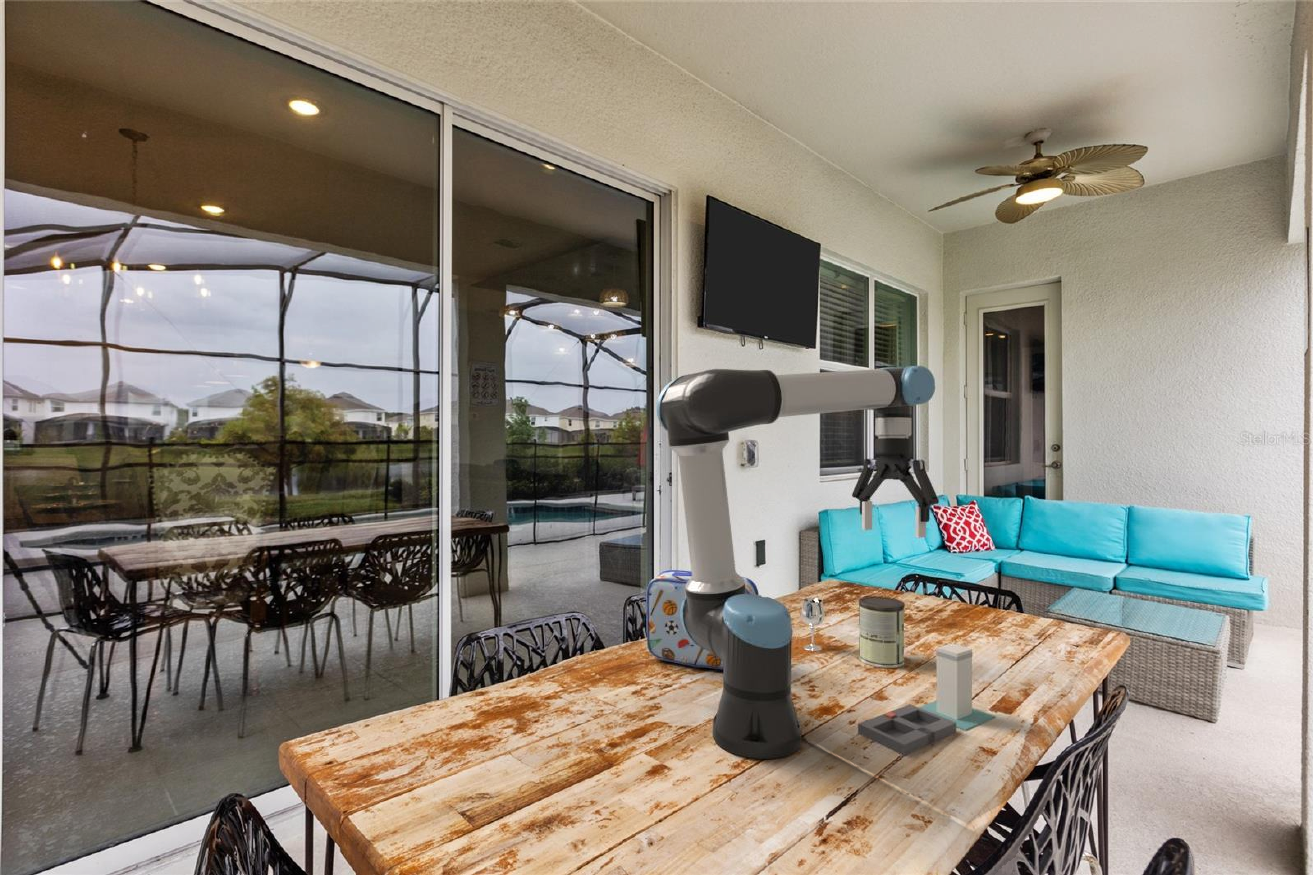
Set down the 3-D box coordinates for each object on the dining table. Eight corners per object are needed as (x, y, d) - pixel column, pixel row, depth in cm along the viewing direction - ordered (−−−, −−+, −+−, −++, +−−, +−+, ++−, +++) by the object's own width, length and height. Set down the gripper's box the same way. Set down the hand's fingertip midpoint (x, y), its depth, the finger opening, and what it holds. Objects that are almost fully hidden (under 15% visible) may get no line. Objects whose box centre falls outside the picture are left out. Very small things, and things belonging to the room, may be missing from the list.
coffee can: (854, 652, 151) (854, 595, 151) (897, 654, 150) (897, 596, 150) (864, 667, 141) (864, 606, 141) (910, 669, 140) (910, 607, 140)
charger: (957, 720, 111) (957, 653, 112) (936, 711, 115) (936, 647, 115) (972, 713, 114) (972, 649, 114) (951, 705, 118) (951, 643, 118)
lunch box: (766, 663, 143) (767, 569, 143) (759, 679, 133) (760, 577, 133) (655, 649, 152) (656, 560, 152) (641, 663, 142) (642, 568, 142)
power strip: (904, 760, 99) (904, 743, 99) (858, 738, 106) (858, 721, 106) (956, 737, 107) (956, 720, 107) (910, 717, 114) (910, 702, 114)
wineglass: (808, 652, 150) (808, 603, 151) (796, 645, 156) (797, 598, 156) (829, 650, 152) (829, 602, 152) (816, 643, 158) (817, 597, 158)
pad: (965, 735, 108) (965, 729, 108) (914, 714, 116) (914, 709, 116) (995, 721, 113) (995, 716, 113) (944, 702, 121) (944, 697, 121)
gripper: (956, 437, 127) (956, 539, 127) (857, 438, 148) (857, 525, 148) (935, 436, 123) (935, 542, 123) (837, 437, 144) (836, 527, 144)
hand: (892, 533), depth 135 cm, fingers open, 13 cm apart
